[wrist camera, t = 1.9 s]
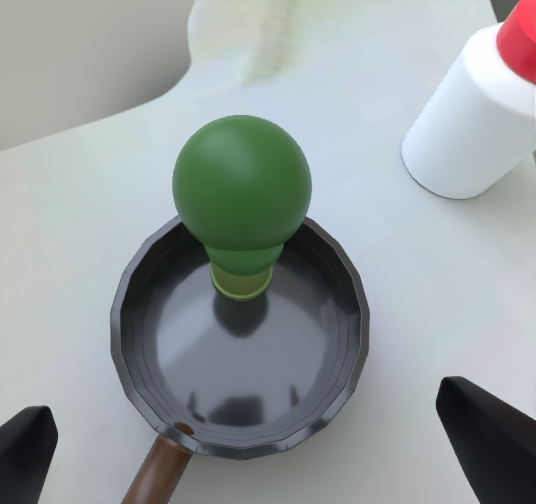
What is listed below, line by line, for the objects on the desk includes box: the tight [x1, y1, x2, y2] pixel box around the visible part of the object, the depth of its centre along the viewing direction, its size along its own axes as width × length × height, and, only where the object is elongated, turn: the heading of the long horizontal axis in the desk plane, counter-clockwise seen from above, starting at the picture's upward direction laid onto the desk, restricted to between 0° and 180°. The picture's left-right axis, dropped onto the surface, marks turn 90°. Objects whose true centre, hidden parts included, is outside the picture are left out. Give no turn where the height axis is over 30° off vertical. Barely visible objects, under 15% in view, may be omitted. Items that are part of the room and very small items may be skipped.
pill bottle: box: [402, 0, 536, 199], centre depth 23 cm, size 8×8×11 cm
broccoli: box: [172, 115, 312, 301], centre depth 16 cm, size 6×5×13 cm
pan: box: [110, 215, 370, 461], centre depth 19 cm, size 13×13×4 cm
